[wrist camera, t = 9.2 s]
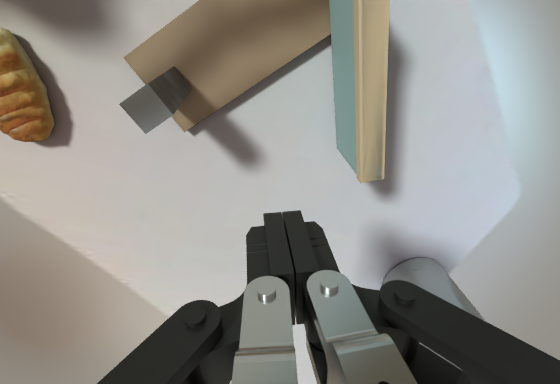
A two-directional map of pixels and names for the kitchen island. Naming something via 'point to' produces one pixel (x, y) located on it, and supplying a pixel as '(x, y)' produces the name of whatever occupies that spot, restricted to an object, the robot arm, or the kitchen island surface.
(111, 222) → the kitchen island surface
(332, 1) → the gate panel
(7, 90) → the pastry
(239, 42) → the gate frame
